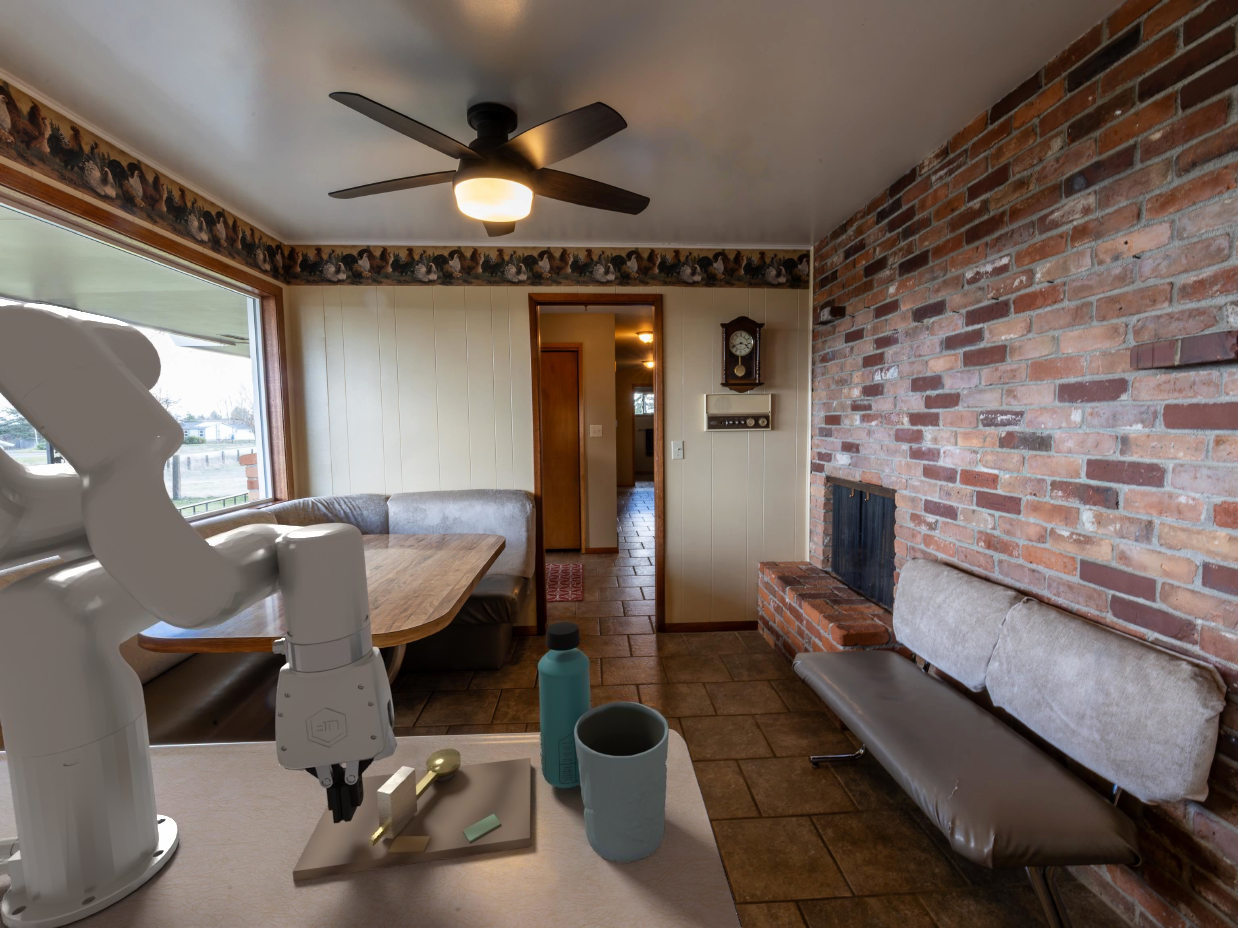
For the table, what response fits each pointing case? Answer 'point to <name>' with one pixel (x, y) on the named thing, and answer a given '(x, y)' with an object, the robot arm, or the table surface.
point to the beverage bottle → (562, 703)
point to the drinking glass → (623, 778)
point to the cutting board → (428, 822)
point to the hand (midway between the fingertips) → (347, 811)
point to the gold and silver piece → (409, 792)
